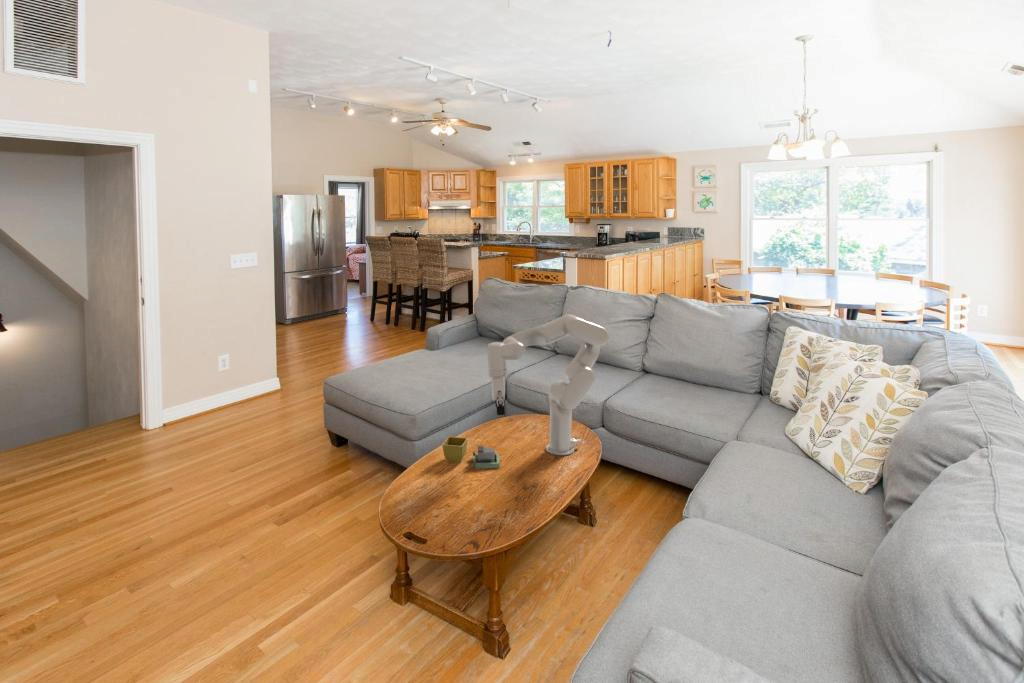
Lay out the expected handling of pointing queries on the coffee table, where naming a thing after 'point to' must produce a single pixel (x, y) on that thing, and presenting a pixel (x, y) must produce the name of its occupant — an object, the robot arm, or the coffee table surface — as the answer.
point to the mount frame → (485, 465)
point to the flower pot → (454, 449)
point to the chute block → (486, 455)
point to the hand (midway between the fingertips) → (500, 410)
